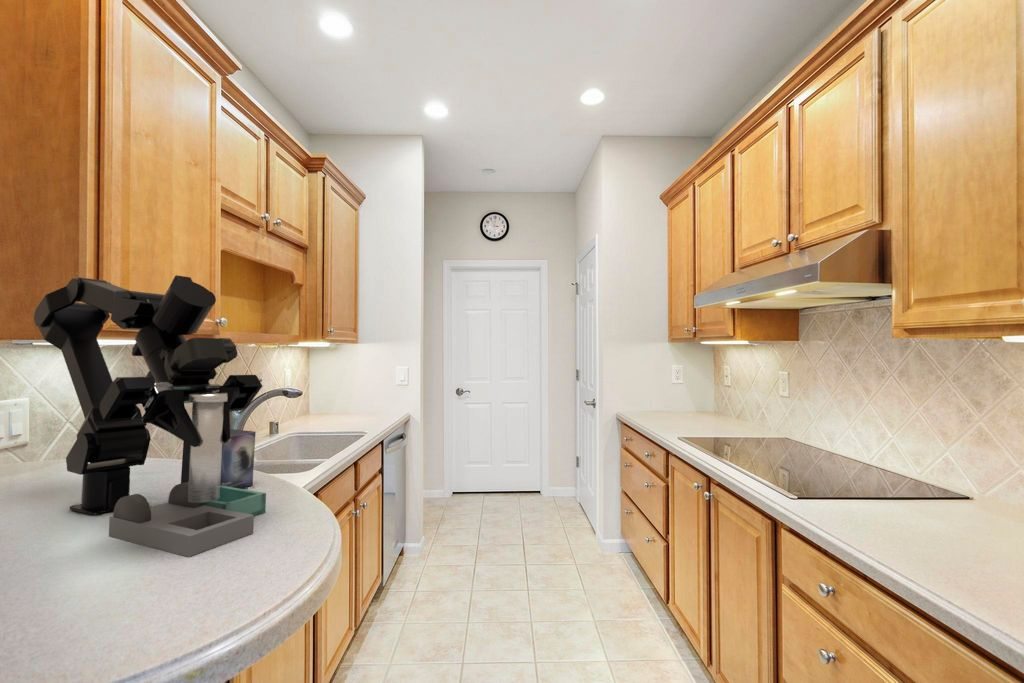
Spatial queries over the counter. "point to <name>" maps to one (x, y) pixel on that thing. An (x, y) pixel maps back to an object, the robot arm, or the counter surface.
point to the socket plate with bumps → (177, 523)
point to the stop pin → (206, 446)
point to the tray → (240, 500)
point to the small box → (230, 460)
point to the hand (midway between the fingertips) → (212, 442)
